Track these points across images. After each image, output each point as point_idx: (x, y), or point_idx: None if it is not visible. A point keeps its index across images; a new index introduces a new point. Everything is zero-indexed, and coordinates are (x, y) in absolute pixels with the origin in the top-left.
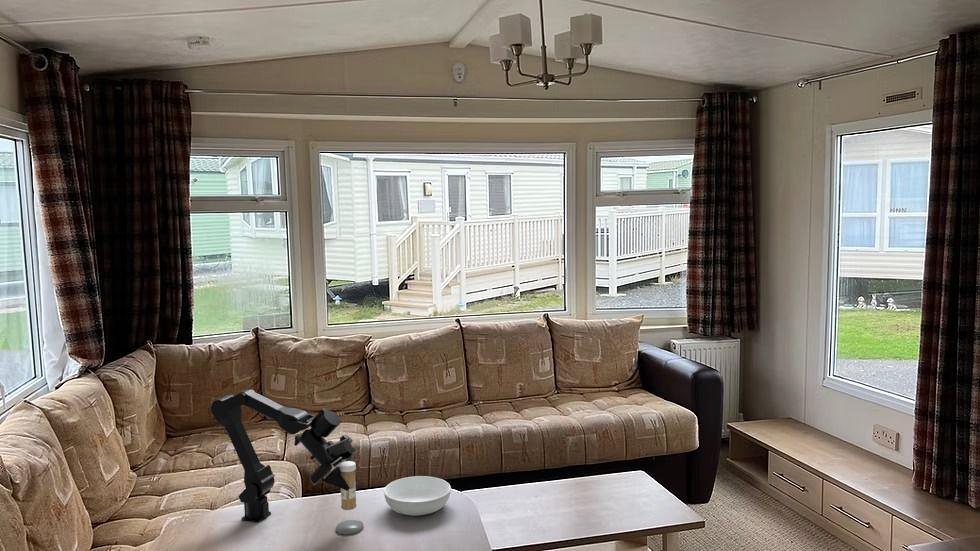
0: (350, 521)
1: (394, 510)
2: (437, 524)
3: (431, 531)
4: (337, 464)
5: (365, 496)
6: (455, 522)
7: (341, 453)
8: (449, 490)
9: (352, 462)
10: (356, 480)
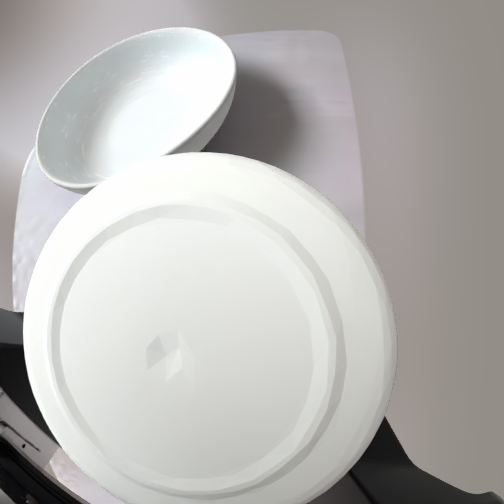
0: None
1: None
2: (252, 77)
3: (292, 86)
4: (80, 500)
5: None
6: (245, 52)
7: None
8: (166, 28)
9: (120, 221)
10: None
